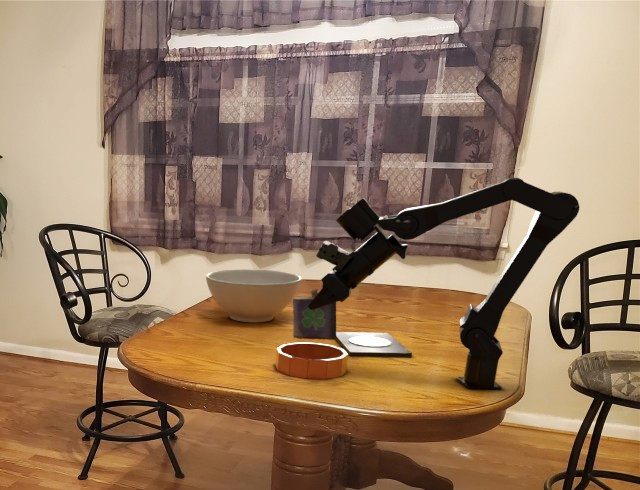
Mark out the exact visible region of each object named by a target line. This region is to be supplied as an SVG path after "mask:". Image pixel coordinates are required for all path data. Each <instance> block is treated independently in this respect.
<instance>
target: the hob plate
mask: <svg viewBox="0 0 640 490" xmlns="http://www.w3.org/2000/svg"><path fill="white" fill-rule="evenodd" d="M335 341H336V342H337V344H339V345H340V347H341V348H342V349H344V350H345V351H346V352H347V354H348V357H372V358H373V357H376V358H377V357H379V358H412V357H413V352H411V351H410V350H409V348H407V347H405V346H404V345H403V344H402V343H401V342H399V341H398V340H397V339H395V338H394V337H393V336H392V335H391V334H390V333H389V332H366V331H365V332H362V331H360V332H359V331H358V332H357V331H336V339H335Z"/></svg>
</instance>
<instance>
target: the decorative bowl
mask: <svg viewBox="0 0 640 490" xmlns="http://www.w3.org/2000/svg"><path fill="white" fill-rule="evenodd" d="M205 279H206V280H205V281H206V284H207V287H208V290H209V292H210V294H211V297H212V299H213V300H214V301H215V303H216V304H217V305H218V306H219V308H221V309H222V310H223V311H224V312H226V313H227V314H228V315H229V318H230V319H231V320H233V321H237V322H242V323H243V322H244V323H265V322H270V321H272V320H273V319H274V316H275V315H277V314H279V313H280V312H282V311H283V310H284V309H286V308H287V307H288V306H289V304H290V303H292V302H293V298H295V297H296V294H297V293H298V292H299V289H300V286H301V284H302V281H303V280H302V277H301V276H300V275H299V274H295V273H292V272H288V271H281V270H280V271H279V270H273V269H272V270H271V269H256V268H255V269H254V268H253V269H252V268H251V269H250V268H248V269H246V268H243V269H241V268H239V269H224V270H223V269H222V270H215V271H212V272H209V273H207V274H206V275H205Z"/></svg>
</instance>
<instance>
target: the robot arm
mask: <svg viewBox="0 0 640 490" xmlns="http://www.w3.org/2000/svg"><path fill="white" fill-rule="evenodd" d="M508 201H514V202H515V203H518V204H520V205H523V206H525V207H527V208H530V209H531V210H534V211H535V212H534V213H533V216H532V219H531V221H530V225H529V227H528V230H527V234H526V236H525V237H524V238H523V240H522V241H521V243H520V244H519V246H518V247H517V249H516V250H515V253H513V255H512V257H511V258H510V260H509V262H508V263H507V265H506V266H505V268H504V269H503V271H502V273H501V274H500V275H499V277H498V278H497V280H496V281H495V283H494V285H493V286H492V288H491V289H490V290H489V292H488V293H487V295H486V296H485V298H484V300H482V302H480V303H479V304H478V305H477V306H475V305H474V304H472V303H470V304H469V305H468V306H467V309H466V312H465V314H464V315H463V316H462V317H461V318H460V319H459V320H458V321H459V329H458V331H459V339H460V342H461V345H463V347H465V349H468V352H467V354H466V362H465V367H464V374H463V376H457V377H456V380H457V381H458V382H460V383H461V385H463V386H465V387H466V388H467V389H474V390H475V389H479V390H481V389H483V390H502V388H503V386H502V385H500V384H499V383H498V382H496V379H497V374H498V373H497V372H498V367H499V361H500V359H501V357H502V356H503V353H504V351H503V349H502V346H501V343H500V340H499V339H498V338H497V337H496V336H495V335H496V333H497V330H498V328H499V325H500V322H501V319H502V316H503V314H504V311H505V309H506V308H507V306H509V303H510V302H511V300H512V299H513V297H514V296H515V295H516V293H517V291H518V290H519V289H520V287H521V285H522V284H523V282H524V281H525V280H526V278H527V276H528V275H529V274H530V272H531V270H533V268H534V266H535V265H536V263H537V261H538V260H539V259H540V257H541V256H542V254H543V253H544V251H545V250H546V249H547V246H549V245H550V243H552V242H553V241H554V240H555V239H556V238H558V236H559V235H561V234H562V233H563V231H564V230H565V229H567V227H568V226H569V225H570V224H571V223H572V222H573V221H574V220H575V219H576V217H577V216H578V214H579V212H580V208H581V207H580V203H579V200H578V199H577V198H576V196H575V195H573V194H572V193H569V192H564V191H553V192H552V191H551V192H549V191H547V190H545V189H542V188H540V187H537V186H535V185H533V184H530V183H528V182H526V181H524V180H523V179H522V178H519V177H516V176H515V177H514V176H512V177H508V178H506V179H504V180H503V181H501V182H499V183H494V184H492V185H489V186H486V187H483V188H480V189H478V190H475V191H472V192H469V193H465V194H462V195H460V196H457V197H454V198H451V199H449V200H445V201H442V202H439V203H432V204H426V205H421V206H415V207H408V208H405V209H403V210H401V211H400V212H399V213H397V214H396V215H385V216H380V215H379V214H378V213H377V211H375V210H374V208H373V207H372V206H371V205H370V203H369V201H367V199H366V198H365V197H362V198H360V199H359V200H358V201H357V202H356V203H355V204H353V205H352V206H351V207H349V208H348V209H346V210H345V211H344V212H343V213H342V214H341V215H340V216H339V217H338V218H336V220H335V222H336V223H337V224H338V225H339V226H340V227H341V228H342V229H343V230H344V232H346V234H347V235H348V236H349V238H351V240H353V241H355V240H360V241H361V242H363V240H365V239H366V238H367V237H368V236H369V235H371V234H372V233H373V232H374V231H376V233H374V234H373V235H372V236H370V238H368V239H367V240H366V241H365V242H364V243H362V244H361V245H360V246H359V247H358V248H357V249H353V250H352V251H351V252H349V251H347V250H345V249H344V248H342V247H340V246H339V245H338V244H337V245H336V244H334V242H331V241H329V240H325V241H323V242H322V244H321V246H320V247H319V248H318V251H317V253H316V254H315V257H316V258H318V259H320V260H324V261H326V262H327V263H329V264H331V265H334V267H333V268H331V270H330V271H328V273H326V274H325V275H324V276H323V277H321V279H320V281H321V283H322V287H321V289H320V290H319V291H318V292H317V293H318V294H317V295H316V297H315V298H314V299H313V300H312V302H311V303H310V304H309V305H308V308H309V309H310V310H313V309H316V308H319V307H322V306H325V305H328V304H331V303H334V302H336V303H337V302H340V303H343V302H344V301H345V300H347V299H348V298H349V297H350V296H351V294H352V290H354V289H356V288H357V287H358V286H359V285H360V284H361V283H363V281H365V280H366V279H367V278H369V277H370V276H372V274H374V273H375V272H376V271H377V270H378V269H379V268H380V267H382V266H383V265H384V264H385V263H386V262H387V261H389V260H390V259H391V258H392V257H394V256H395V255H396V254H397V255H398V257H400V258H401V259H402V260H405V259H406V257H407V249H408V248H409V244H408V243H401V242H400V240H398V239H401V240H403V241H410V240H414V239H417V238H418V237H420V236H422V235H424V234H426V233H429V232H430V231H431V230H434V229H435V228H437V227H438V226H441V225H443V224H445V223H446V222H449V221H453V220H455V219H458V218H461V217H464V216H467V215H471V214H474V213H476V212H479V211H482V210H485V209H488V208H491V207H495V206H497V205H501V204H503V203H506V202H508ZM384 231H388V232H392V234H390V235H389V236H388V234H386V233H385V232H384ZM393 233H394V234H395V235H394V234H393ZM397 237H398V238H397Z"/></svg>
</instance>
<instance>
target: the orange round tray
mask: <svg viewBox="0 0 640 490" xmlns="http://www.w3.org/2000/svg"><path fill="white" fill-rule="evenodd" d="M275 349H276V350H275V363H274V364H275V365H274V366H275V368H276V370H277V372H280V373H283V374H285V375H287V376H291V377H297V378H300V379H301V378H302V379H310V380H311V379H314V380H327V379H333V378H338V377H339V378H340V377H342V376H343V375H344V374H346V373H347V367H348V357H349V354H348V353H347V352H346V351H345V350H344V349H343V348H342V347H338V346H335V345H332V344H326V343H325V344H324V343H320V342H319V343H318V342H317V343H316V342H292V343H287V344H286V343H284V344H281V345H280V346H278V347H276V348H275Z"/></svg>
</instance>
